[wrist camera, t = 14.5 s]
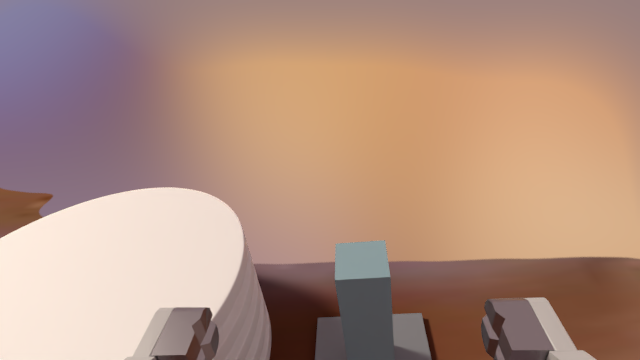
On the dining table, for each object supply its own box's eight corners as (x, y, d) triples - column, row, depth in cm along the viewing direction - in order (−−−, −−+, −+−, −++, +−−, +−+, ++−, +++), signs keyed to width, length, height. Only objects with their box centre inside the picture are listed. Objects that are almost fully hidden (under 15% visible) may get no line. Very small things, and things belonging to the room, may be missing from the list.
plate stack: (-79, 401, 35) (-176, 322, 30) (176, 236, 53) (146, 166, 47) (-9, 730, 19) (-199, 695, 13) (330, 330, 36) (314, 239, 30)
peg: (351, 385, 30) (334, 280, 24) (350, 345, 34) (335, 243, 27) (395, 384, 30) (390, 277, 24) (390, 344, 33) (384, 240, 27)
